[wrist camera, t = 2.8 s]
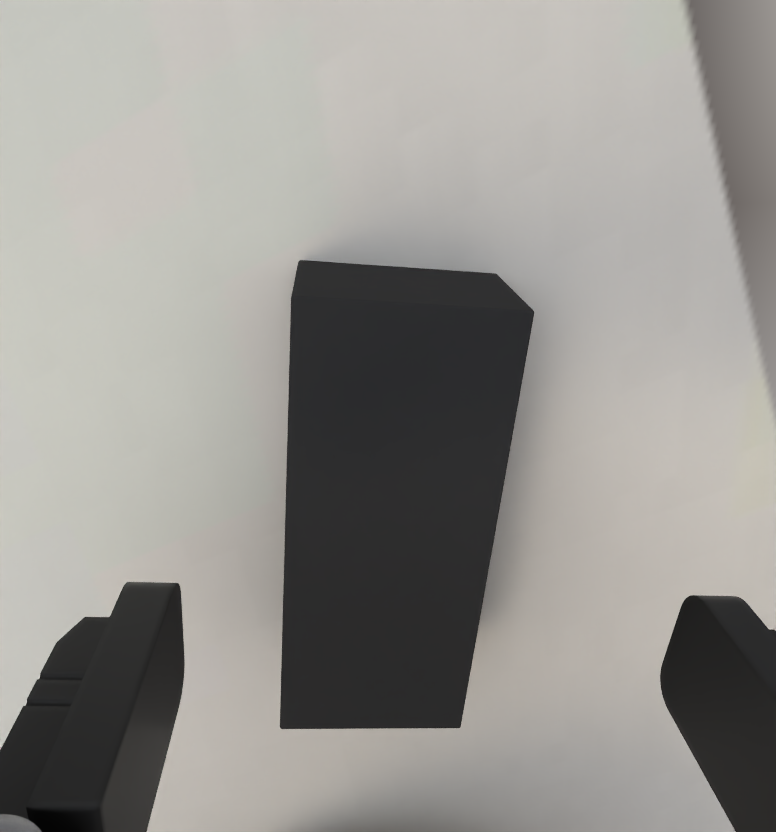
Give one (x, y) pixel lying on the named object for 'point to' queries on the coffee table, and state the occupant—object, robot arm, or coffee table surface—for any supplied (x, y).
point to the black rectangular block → (392, 487)
